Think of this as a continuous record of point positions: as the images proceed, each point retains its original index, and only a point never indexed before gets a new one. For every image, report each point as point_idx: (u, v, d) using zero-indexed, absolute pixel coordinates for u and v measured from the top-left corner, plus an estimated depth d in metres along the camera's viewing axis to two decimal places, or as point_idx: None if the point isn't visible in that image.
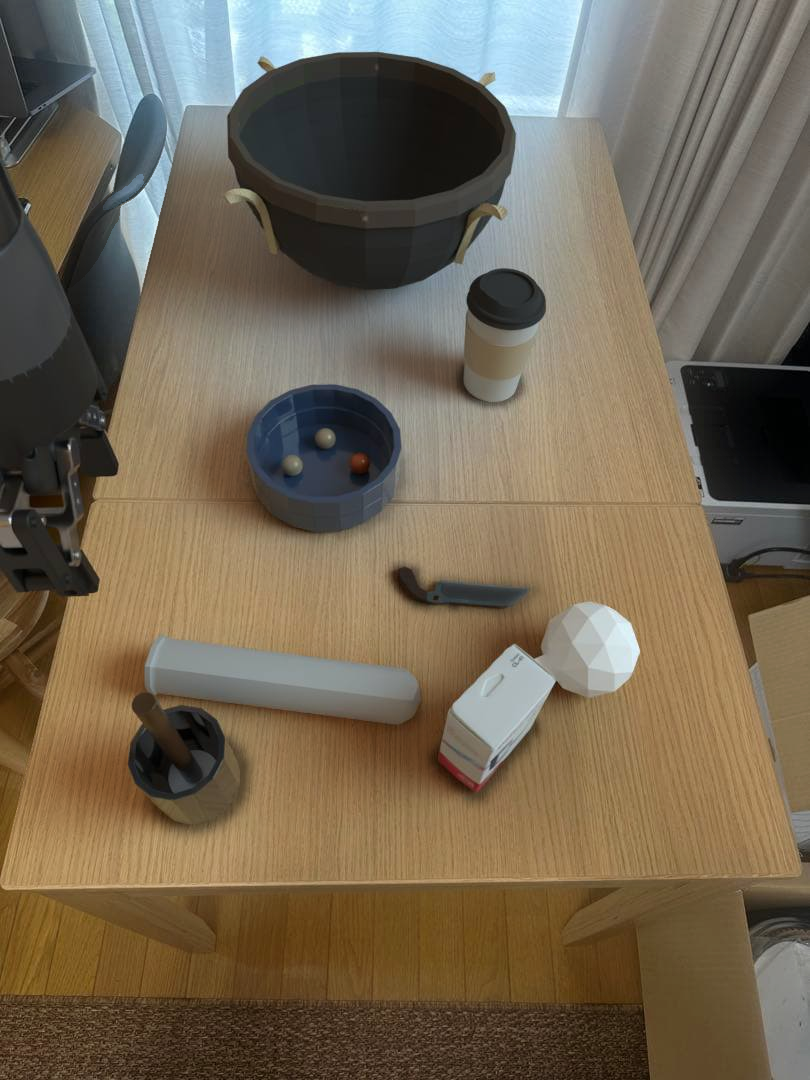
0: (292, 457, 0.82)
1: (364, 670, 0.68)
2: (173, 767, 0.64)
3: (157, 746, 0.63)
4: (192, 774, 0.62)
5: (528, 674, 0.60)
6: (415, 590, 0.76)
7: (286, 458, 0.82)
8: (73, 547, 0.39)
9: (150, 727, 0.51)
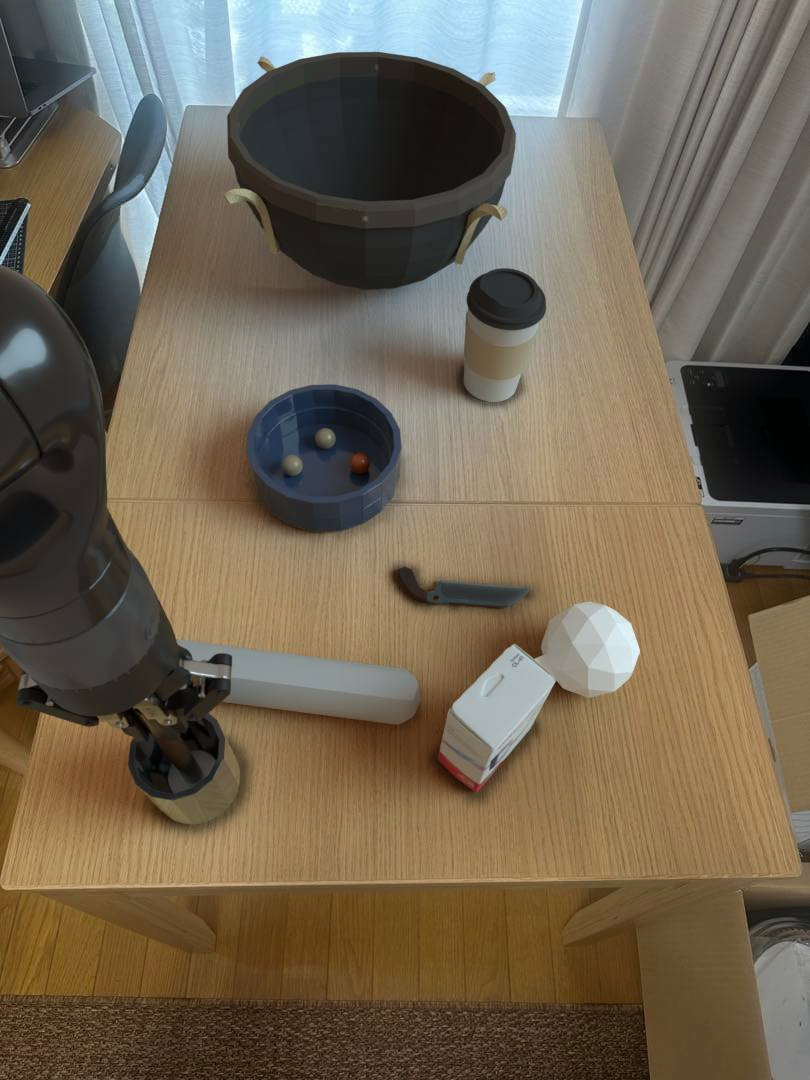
0: (292, 457, 0.82)
1: (364, 670, 0.68)
2: (173, 767, 0.64)
3: (157, 746, 0.63)
4: (192, 774, 0.62)
5: (528, 674, 0.60)
6: (415, 590, 0.76)
7: (286, 458, 0.82)
8: (111, 722, 0.49)
9: (150, 727, 0.51)
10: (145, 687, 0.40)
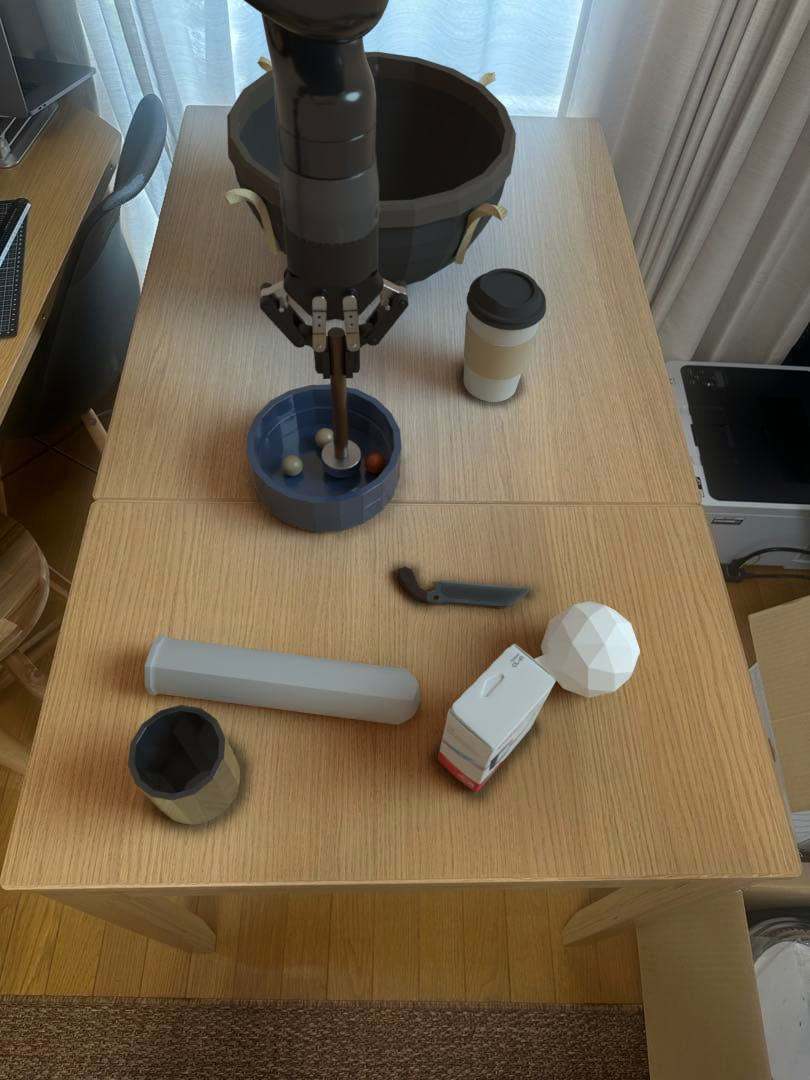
0: (292, 457, 0.82)
1: (364, 670, 0.68)
2: (325, 449, 0.83)
3: (157, 746, 0.63)
4: (344, 444, 0.80)
5: (528, 674, 0.60)
6: (415, 590, 0.76)
7: (286, 458, 0.82)
8: (315, 342, 0.67)
9: (336, 360, 0.70)
10: (366, 266, 0.59)
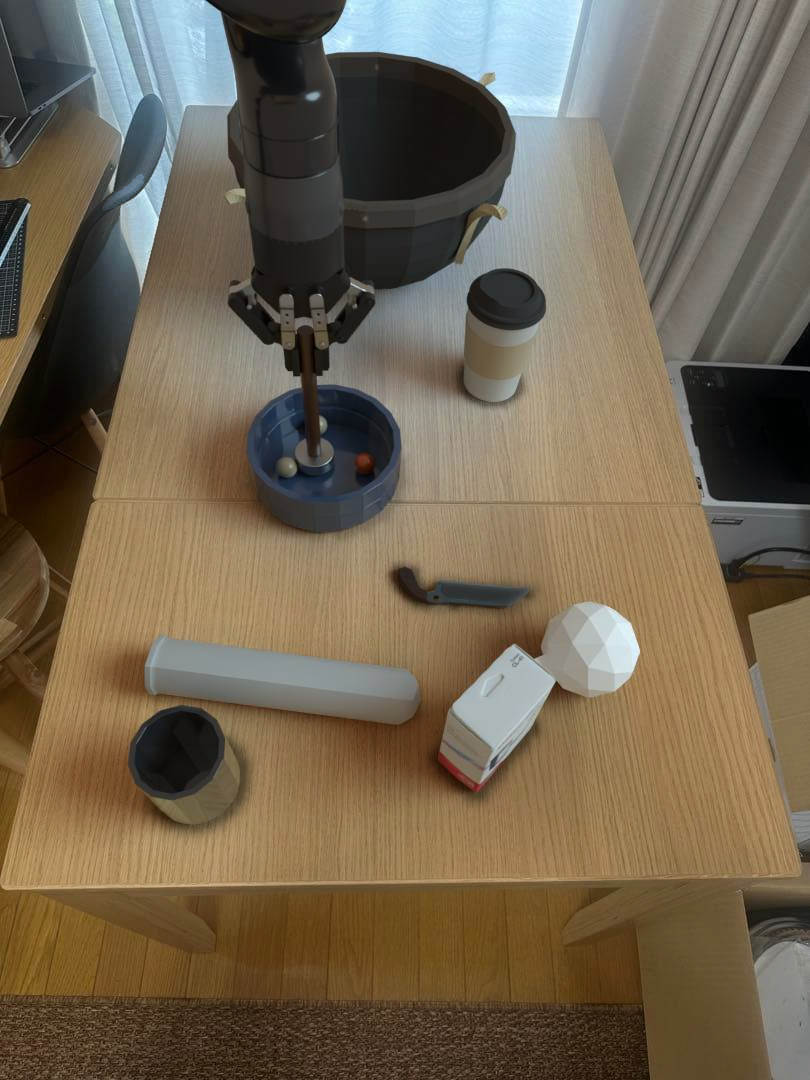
0: (282, 461, 0.82)
1: (364, 670, 0.68)
2: (298, 447, 0.83)
3: (157, 746, 0.63)
4: (317, 442, 0.81)
5: (528, 674, 0.60)
6: (415, 590, 0.76)
7: (277, 464, 0.82)
8: (284, 340, 0.68)
9: (305, 358, 0.70)
10: (331, 264, 0.60)
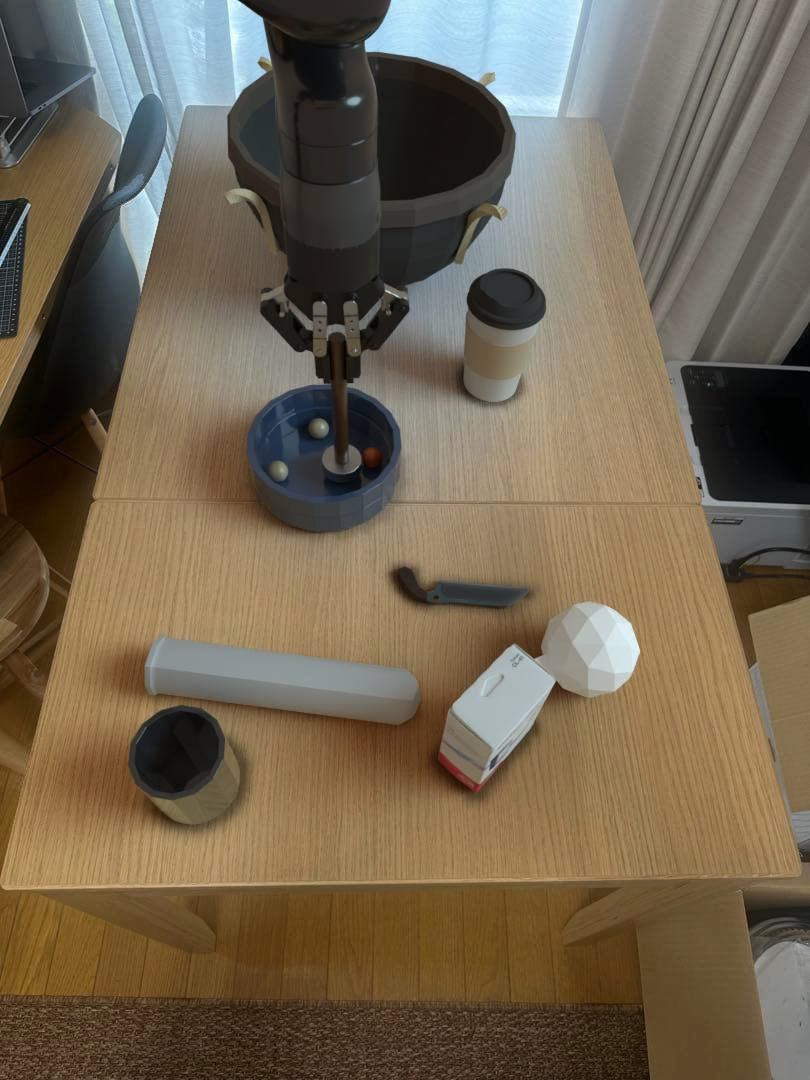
0: (267, 472, 0.82)
1: (364, 670, 0.68)
2: (325, 453, 0.82)
3: (157, 746, 0.63)
4: (345, 449, 0.80)
5: (528, 674, 0.60)
6: (415, 590, 0.76)
7: None
8: (315, 347, 0.67)
9: (336, 365, 0.69)
10: (367, 271, 0.58)
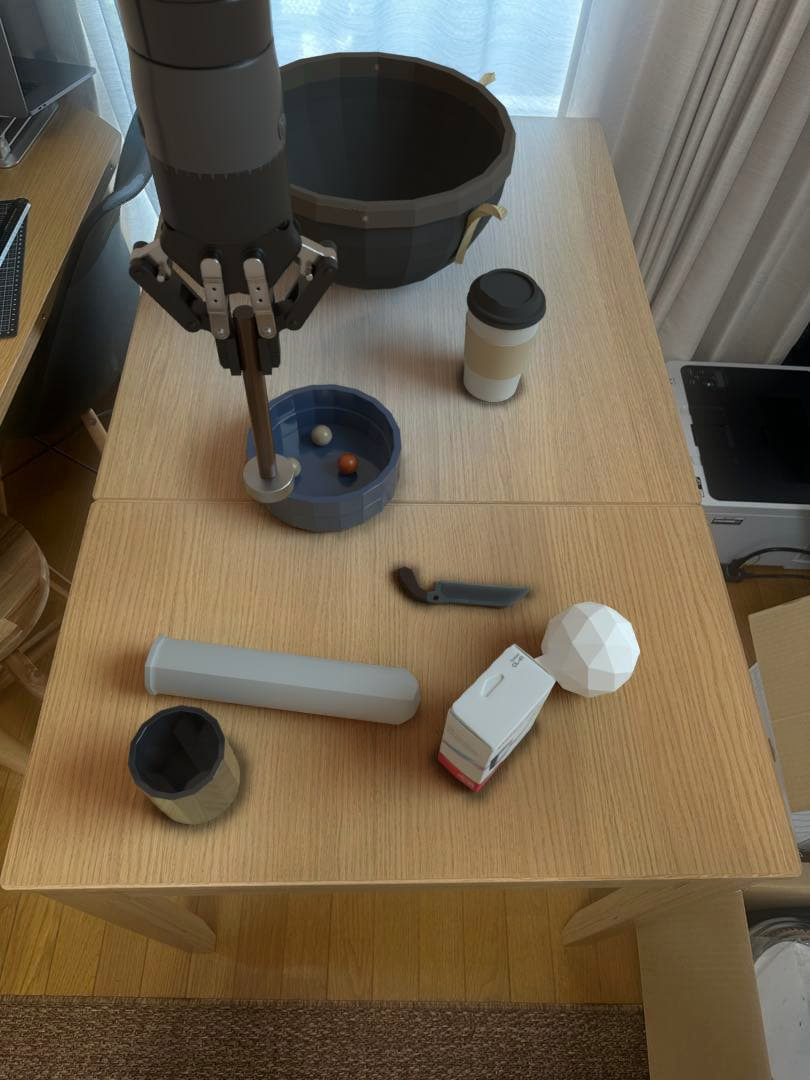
0: None
1: (364, 670, 0.68)
2: (248, 466, 0.65)
3: (157, 746, 0.63)
4: (270, 461, 0.62)
5: (528, 674, 0.60)
6: (415, 590, 0.76)
7: None
8: (214, 325, 0.49)
9: (246, 350, 0.52)
10: (269, 212, 0.41)
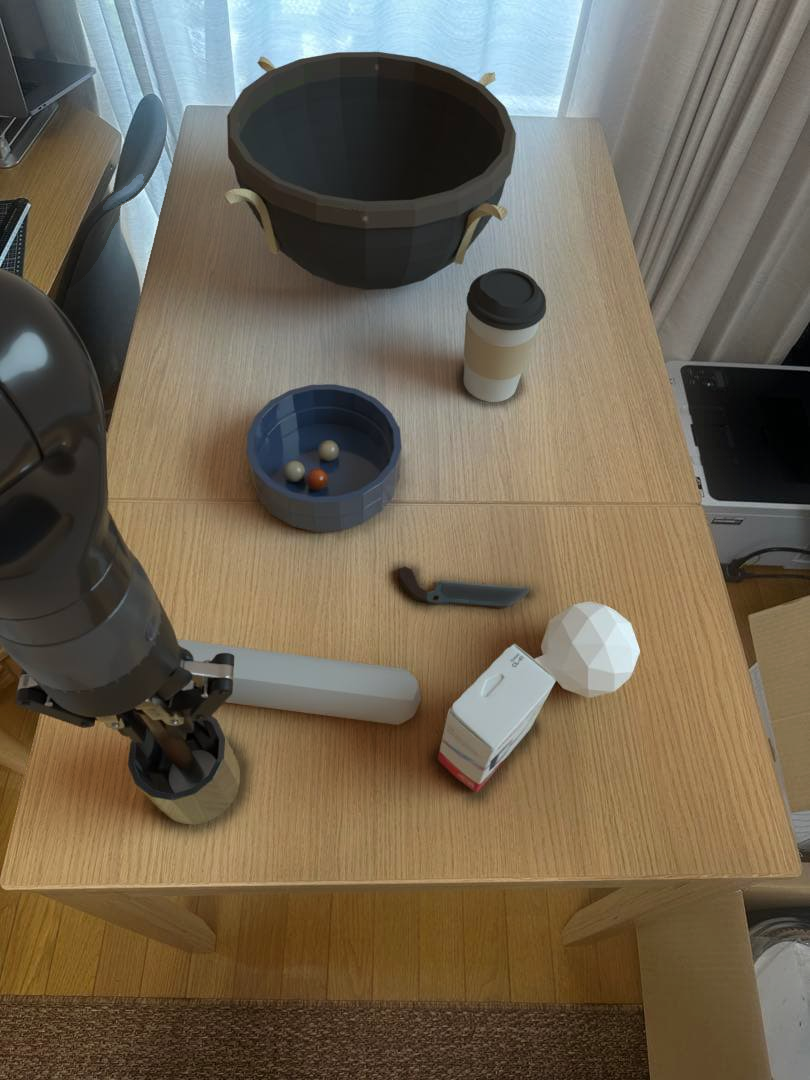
0: (297, 468, 0.82)
1: (364, 670, 0.68)
2: (174, 767, 0.64)
3: (157, 746, 0.63)
4: (193, 774, 0.62)
5: (528, 674, 0.60)
6: (415, 590, 0.76)
7: (291, 469, 0.82)
8: (108, 723, 0.49)
9: (151, 727, 0.51)
10: (146, 688, 0.41)
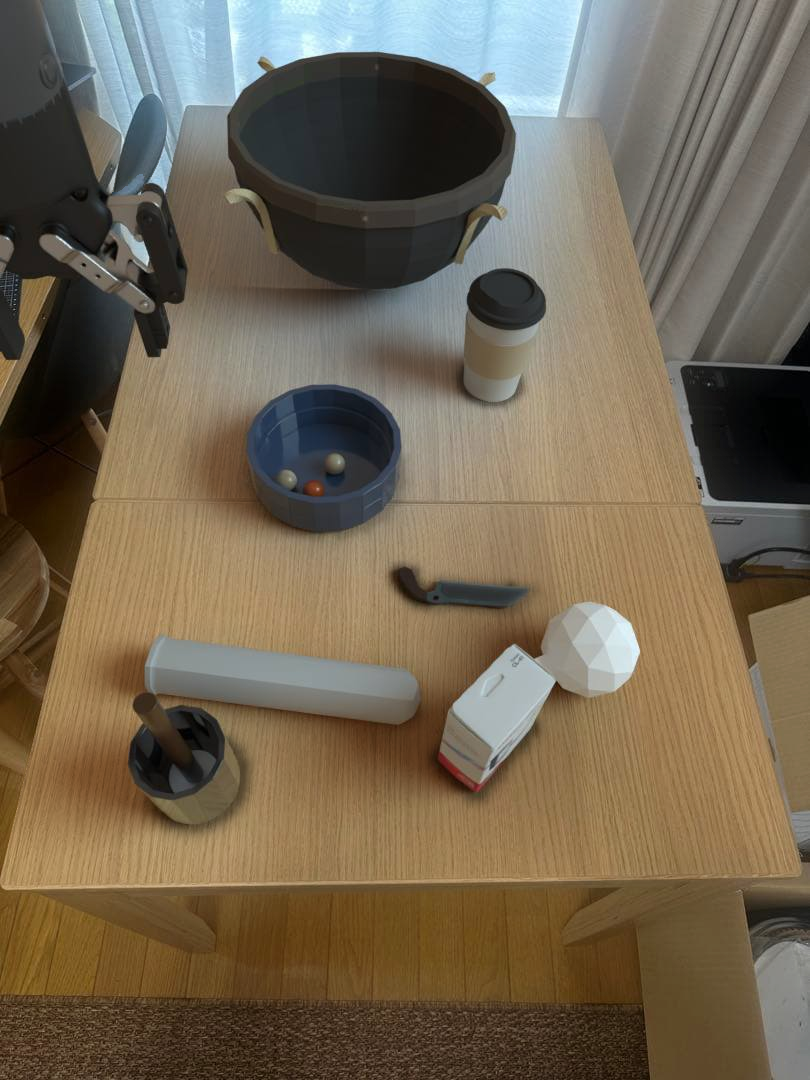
0: None
1: (364, 670, 0.68)
2: (174, 767, 0.64)
3: (157, 746, 0.63)
4: (193, 774, 0.62)
5: (528, 674, 0.60)
6: (415, 590, 0.76)
7: None
8: None
9: (151, 727, 0.51)
10: (48, 177, 0.34)
